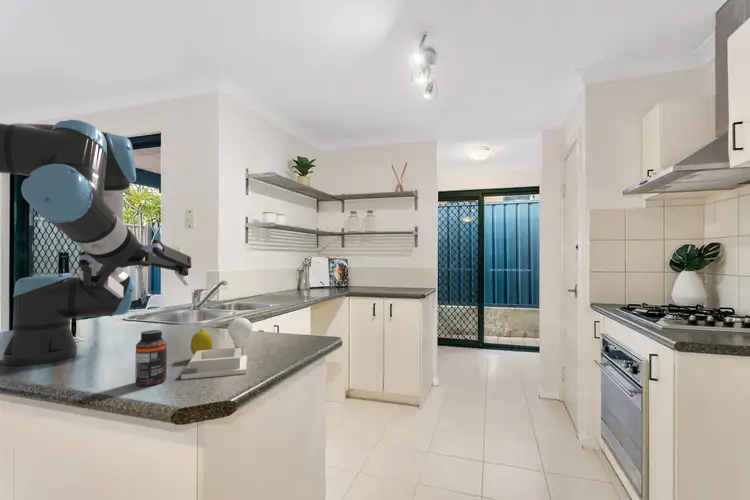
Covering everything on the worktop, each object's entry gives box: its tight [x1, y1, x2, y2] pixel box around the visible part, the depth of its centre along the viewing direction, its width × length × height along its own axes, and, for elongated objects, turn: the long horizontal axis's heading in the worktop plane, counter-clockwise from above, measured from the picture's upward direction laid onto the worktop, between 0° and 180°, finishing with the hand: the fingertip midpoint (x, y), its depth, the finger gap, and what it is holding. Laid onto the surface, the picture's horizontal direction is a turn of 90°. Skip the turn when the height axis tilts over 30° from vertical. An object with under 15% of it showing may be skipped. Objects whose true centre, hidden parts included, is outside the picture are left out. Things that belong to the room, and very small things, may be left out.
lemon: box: [190, 329, 214, 355], centre depth 100 cm, size 6×6×8 cm
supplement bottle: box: [134, 329, 168, 387], centre depth 81 cm, size 6×6×11 cm
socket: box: [180, 347, 248, 380], centre depth 91 cm, size 14×14×4 cm
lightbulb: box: [227, 317, 253, 356], centre depth 102 cm, size 6×6×11 cm
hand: (154, 286), depth 83 cm, fingers open, 13 cm apart
